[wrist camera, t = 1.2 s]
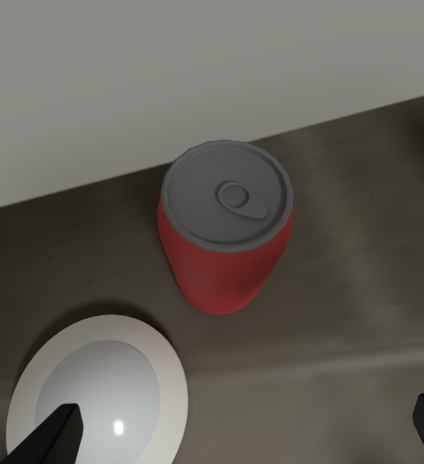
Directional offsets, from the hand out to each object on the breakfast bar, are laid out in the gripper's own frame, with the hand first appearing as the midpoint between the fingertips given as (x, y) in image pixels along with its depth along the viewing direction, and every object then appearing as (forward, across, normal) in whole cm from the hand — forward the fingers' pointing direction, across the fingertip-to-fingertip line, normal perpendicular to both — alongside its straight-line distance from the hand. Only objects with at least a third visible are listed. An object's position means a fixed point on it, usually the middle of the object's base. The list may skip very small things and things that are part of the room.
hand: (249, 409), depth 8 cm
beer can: (+15, 0, +4) cm, 16 cm away
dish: (+9, +8, +10) cm, 15 cm away
